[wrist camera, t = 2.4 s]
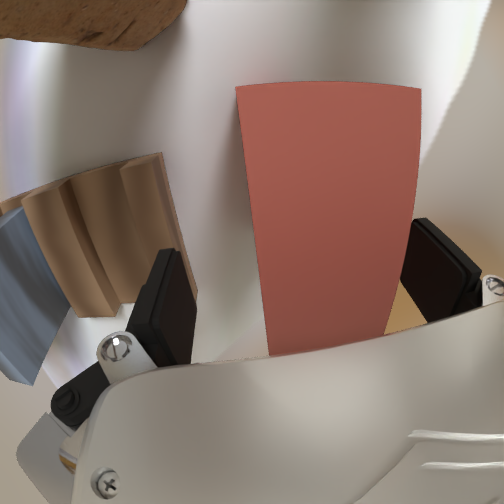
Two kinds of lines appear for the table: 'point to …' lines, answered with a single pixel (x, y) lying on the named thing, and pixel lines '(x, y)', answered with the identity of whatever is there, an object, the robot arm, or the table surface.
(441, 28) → the table surface
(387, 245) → the book
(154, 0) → the block
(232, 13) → the table surface
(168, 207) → the book stand
